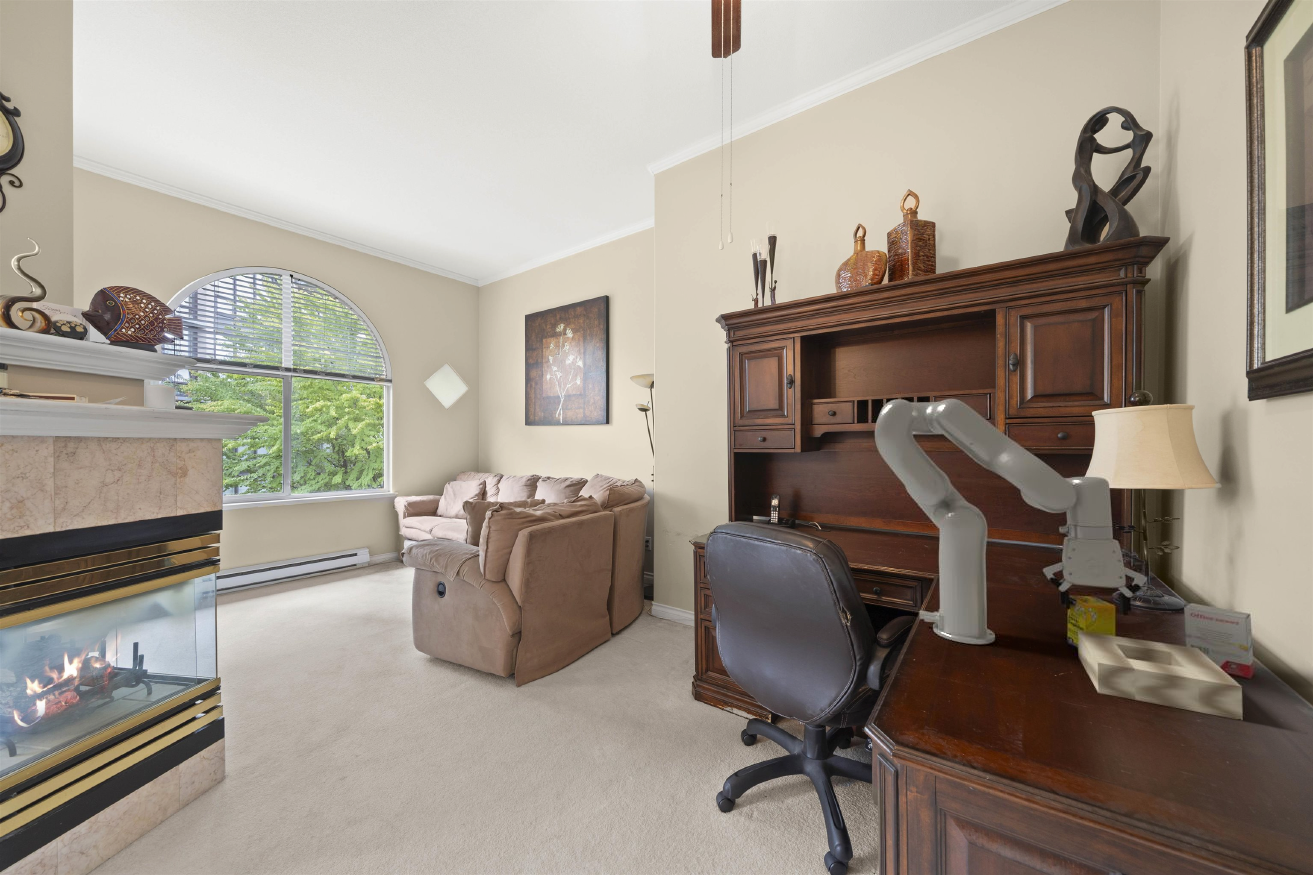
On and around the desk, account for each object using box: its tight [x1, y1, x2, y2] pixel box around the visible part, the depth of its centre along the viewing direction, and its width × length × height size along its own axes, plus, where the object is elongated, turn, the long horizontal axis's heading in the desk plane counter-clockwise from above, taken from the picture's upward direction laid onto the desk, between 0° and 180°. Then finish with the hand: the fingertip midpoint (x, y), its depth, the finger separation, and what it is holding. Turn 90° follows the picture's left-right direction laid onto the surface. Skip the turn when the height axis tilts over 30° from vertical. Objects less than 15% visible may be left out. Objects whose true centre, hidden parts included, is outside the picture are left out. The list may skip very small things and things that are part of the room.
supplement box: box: [1067, 595, 1116, 649], centre depth 110 cm, size 6×6×11 cm
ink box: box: [1183, 602, 1254, 679], centre depth 101 cm, size 9×5×12 cm, turn 33°
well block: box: [1077, 631, 1243, 721], centre depth 94 cm, size 18×18×6 cm
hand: (1094, 610), depth 110 cm, fingers open, 9 cm apart
